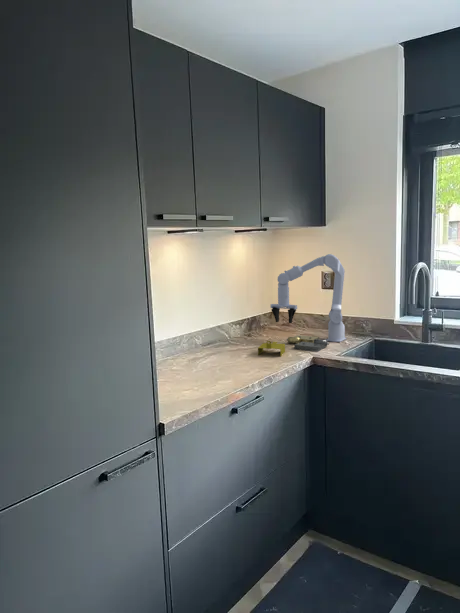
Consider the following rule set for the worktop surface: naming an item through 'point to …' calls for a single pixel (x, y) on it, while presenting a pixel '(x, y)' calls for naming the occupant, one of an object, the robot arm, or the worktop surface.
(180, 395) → the worktop surface
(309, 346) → the fixed leaf
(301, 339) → the brass plate
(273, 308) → the robot arm
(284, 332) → the worktop surface
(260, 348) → the bracket
